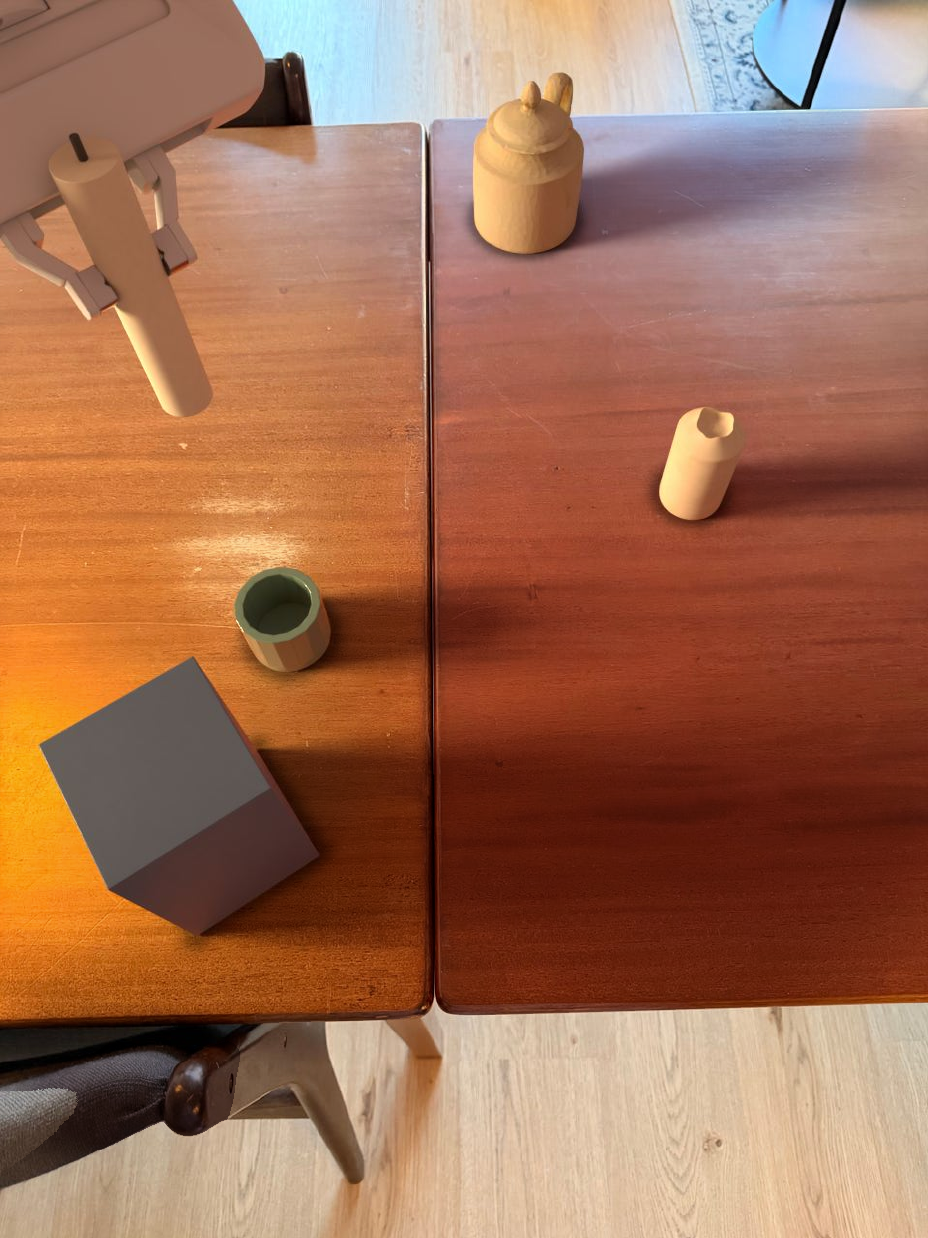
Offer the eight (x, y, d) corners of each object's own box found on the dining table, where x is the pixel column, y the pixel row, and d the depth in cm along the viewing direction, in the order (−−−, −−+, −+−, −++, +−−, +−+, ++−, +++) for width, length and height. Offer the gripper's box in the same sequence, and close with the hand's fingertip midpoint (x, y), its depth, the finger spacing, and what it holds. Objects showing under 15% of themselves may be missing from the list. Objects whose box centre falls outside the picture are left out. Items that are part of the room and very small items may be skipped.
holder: (274, 687, 72) (259, 658, 67) (236, 626, 75) (219, 594, 70) (345, 644, 74) (335, 613, 69) (305, 586, 76) (293, 553, 72)
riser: (196, 936, 64) (107, 890, 48) (137, 820, 67) (37, 744, 52) (319, 855, 66) (271, 788, 51) (255, 748, 70) (193, 655, 55)
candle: (647, 482, 81) (667, 407, 72) (701, 461, 82) (727, 385, 73) (678, 529, 78) (702, 458, 69) (733, 508, 79) (764, 435, 70)
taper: (184, 426, 47) (66, 169, 34) (149, 399, 48) (22, 138, 35) (223, 394, 48) (124, 132, 35) (189, 368, 49) (80, 103, 36)
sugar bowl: (468, 164, 101) (466, 24, 88) (566, 159, 101) (579, 18, 88) (476, 258, 94) (476, 121, 81) (582, 252, 94) (599, 114, 81)
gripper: (-359, 36, 30) (-73, 403, 35) (162, -169, 36) (343, 171, 41) (-302, 103, 36) (-62, 411, 41) (142, -85, 42) (303, 206, 47)
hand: (145, 289), depth 41 cm, fingers closed on taper, 3 cm apart
